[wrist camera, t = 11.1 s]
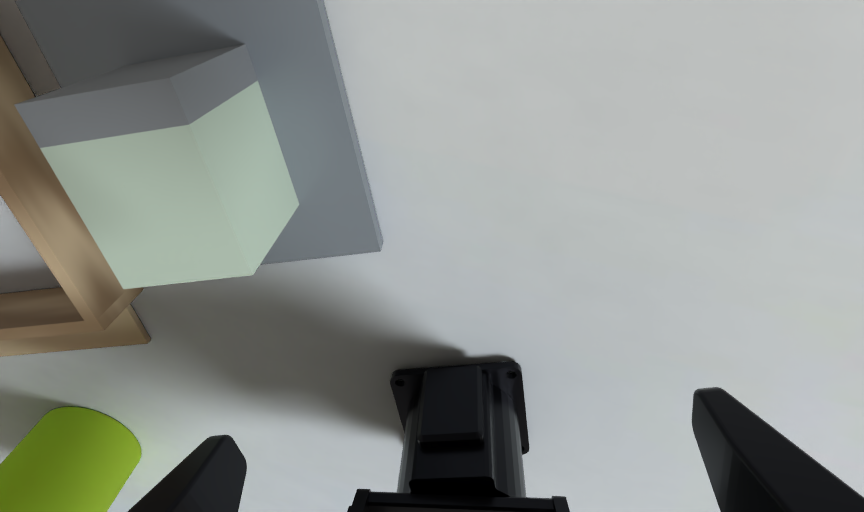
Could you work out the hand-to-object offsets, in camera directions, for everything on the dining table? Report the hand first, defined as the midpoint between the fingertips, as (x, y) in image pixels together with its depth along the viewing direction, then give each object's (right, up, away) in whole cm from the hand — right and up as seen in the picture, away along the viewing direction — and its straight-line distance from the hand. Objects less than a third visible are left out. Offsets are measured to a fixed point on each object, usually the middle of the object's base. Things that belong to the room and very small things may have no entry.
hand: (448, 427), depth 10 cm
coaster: (-8, +8, +10) cm, 15 cm away
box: (-8, +8, +9) cm, 14 cm away
